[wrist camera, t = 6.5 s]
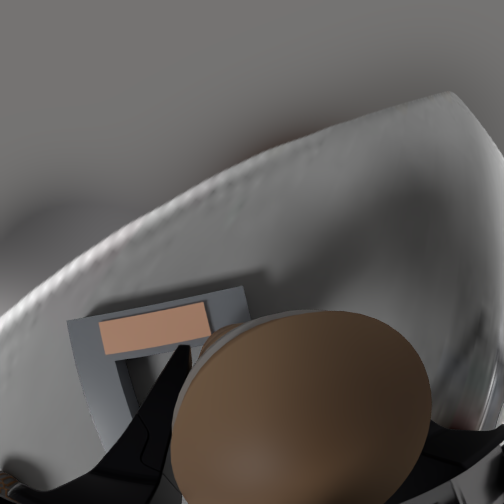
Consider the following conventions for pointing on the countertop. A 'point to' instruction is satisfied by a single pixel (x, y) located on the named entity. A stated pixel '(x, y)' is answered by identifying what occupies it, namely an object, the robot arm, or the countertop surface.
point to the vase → (7, 484)
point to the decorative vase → (501, 420)
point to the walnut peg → (300, 412)
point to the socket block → (141, 348)
